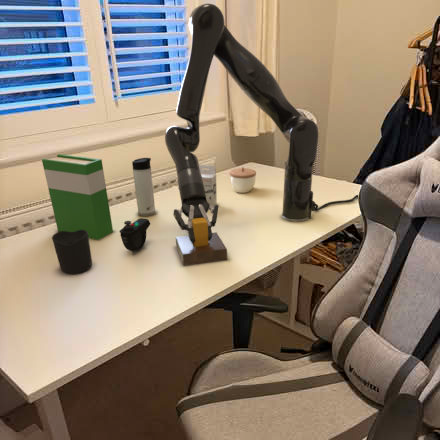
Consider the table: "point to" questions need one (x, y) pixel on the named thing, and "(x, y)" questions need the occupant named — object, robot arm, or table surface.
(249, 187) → the trinket box
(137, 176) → the travel mug
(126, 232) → the controller
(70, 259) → the pen holder
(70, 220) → the hardback book
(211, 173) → the ink box
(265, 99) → the robot arm
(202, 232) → the ochre peg
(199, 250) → the walnut stand
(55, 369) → the table surface
